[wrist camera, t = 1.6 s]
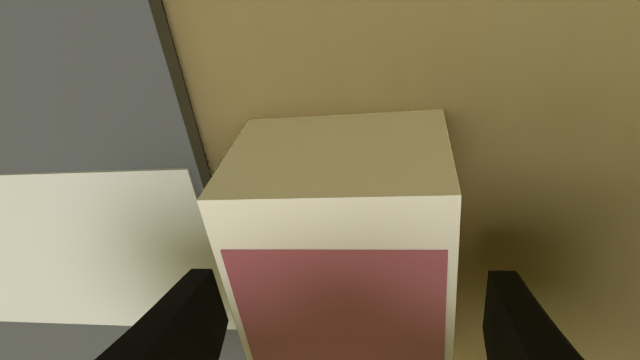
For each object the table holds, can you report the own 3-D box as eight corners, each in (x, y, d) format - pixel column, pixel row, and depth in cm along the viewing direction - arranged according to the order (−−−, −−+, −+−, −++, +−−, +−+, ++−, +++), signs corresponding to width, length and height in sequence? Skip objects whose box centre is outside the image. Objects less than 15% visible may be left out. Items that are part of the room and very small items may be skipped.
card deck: (442, 105, 11) (461, 197, 8) (436, 334, 16) (448, 455, 12) (250, 116, 12) (195, 202, 9) (296, 329, 17) (271, 441, 13)
